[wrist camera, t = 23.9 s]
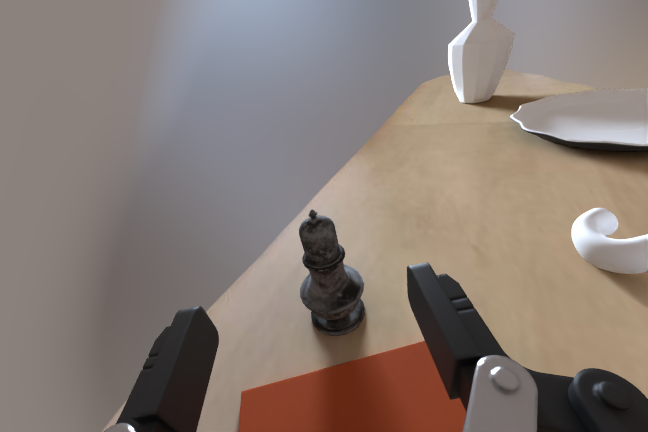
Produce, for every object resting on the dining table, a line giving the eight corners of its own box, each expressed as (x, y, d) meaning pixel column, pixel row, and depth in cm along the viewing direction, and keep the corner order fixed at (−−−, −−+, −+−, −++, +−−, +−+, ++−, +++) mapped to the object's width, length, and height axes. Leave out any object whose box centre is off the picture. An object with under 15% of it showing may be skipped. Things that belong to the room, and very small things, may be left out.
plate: (778, 174, 31) (793, 154, 30) (489, 148, 50) (491, 135, 49) (738, 100, 47) (747, 84, 46) (531, 101, 66) (533, 90, 65)
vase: (506, 103, 68) (527, -29, 55) (443, 108, 74) (448, -9, 61) (503, 89, 78) (520, -25, 65) (448, 94, 85) (453, -9, 71)
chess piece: (310, 290, 30) (280, 196, 24) (364, 285, 29) (348, 185, 23) (306, 341, 25) (266, 239, 19) (371, 335, 25) (353, 227, 18)
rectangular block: (454, 335, 23) (454, 332, 23) (517, 433, 17) (518, 431, 17) (243, 393, 23) (241, 391, 22) (233, 517, 17) (231, 515, 16)
